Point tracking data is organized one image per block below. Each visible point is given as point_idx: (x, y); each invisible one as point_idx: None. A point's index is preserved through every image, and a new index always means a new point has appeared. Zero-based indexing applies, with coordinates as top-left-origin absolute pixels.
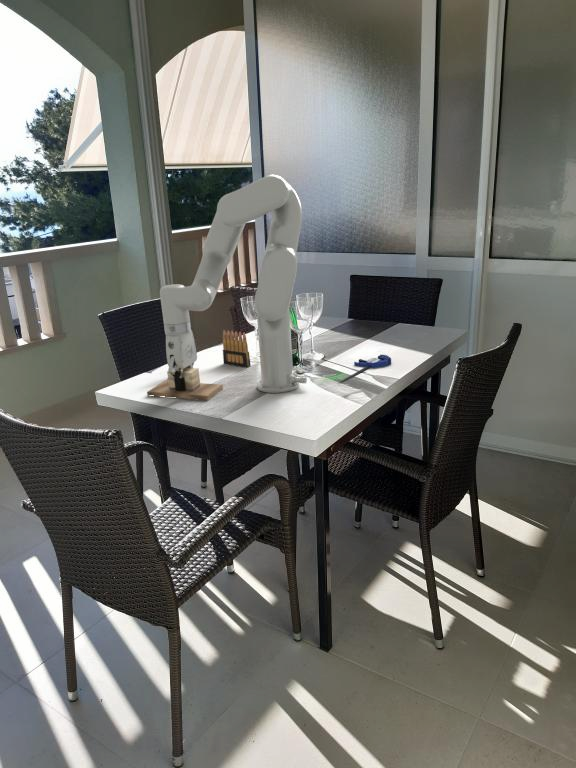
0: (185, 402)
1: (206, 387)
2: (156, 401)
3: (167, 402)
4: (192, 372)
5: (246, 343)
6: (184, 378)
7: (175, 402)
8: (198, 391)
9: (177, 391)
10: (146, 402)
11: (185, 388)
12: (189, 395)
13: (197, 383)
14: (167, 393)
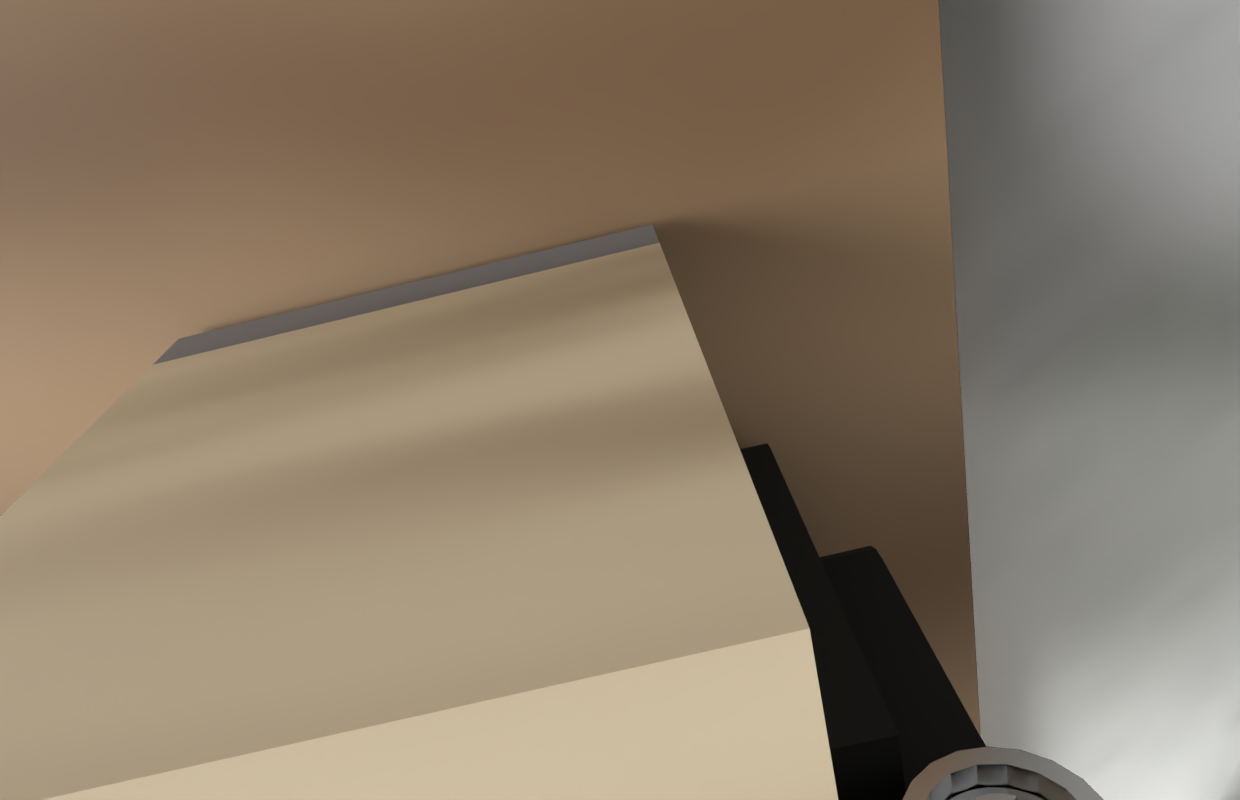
0: (1119, 60)
1: (135, 56)
2: (1152, 674)
3: (1178, 463)
4: (610, 654)
5: None
6: None
7: (1155, 305)
8: (599, 37)
9: None
10: (1223, 772)
11: None
12: (936, 122)
13: (308, 353)
14: (974, 697)
